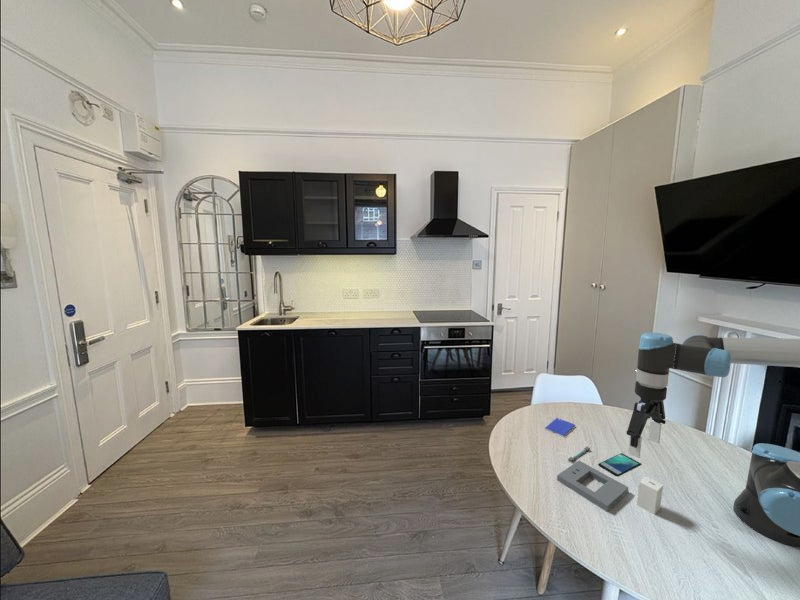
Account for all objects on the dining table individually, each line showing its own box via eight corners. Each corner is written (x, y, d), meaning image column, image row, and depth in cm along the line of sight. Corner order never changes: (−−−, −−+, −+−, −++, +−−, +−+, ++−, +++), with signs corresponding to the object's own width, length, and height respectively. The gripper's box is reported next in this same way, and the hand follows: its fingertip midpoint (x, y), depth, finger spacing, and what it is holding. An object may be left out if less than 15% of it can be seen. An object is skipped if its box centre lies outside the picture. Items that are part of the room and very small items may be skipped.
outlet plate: (627, 492, 104) (628, 486, 103) (607, 511, 96) (607, 505, 96) (578, 465, 117) (579, 459, 117) (557, 480, 110) (557, 474, 109)
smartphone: (597, 463, 117) (621, 452, 124) (596, 465, 118) (621, 454, 124) (616, 476, 111) (641, 463, 117) (616, 478, 111) (641, 465, 117)
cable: (589, 450, 126) (589, 448, 126) (571, 462, 119) (571, 460, 119) (586, 448, 127) (586, 446, 127) (568, 460, 120) (568, 458, 120)
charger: (660, 508, 98) (663, 484, 96) (654, 514, 95) (657, 490, 94) (642, 498, 101) (645, 475, 100) (636, 504, 99) (639, 480, 98)
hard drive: (556, 417, 149) (544, 427, 141) (575, 424, 143) (563, 435, 134) (556, 420, 149) (544, 430, 141) (574, 427, 143) (563, 438, 135)
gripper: (654, 371, 105) (648, 430, 108) (616, 389, 93) (611, 455, 96) (683, 378, 99) (675, 441, 102) (647, 398, 86) (639, 469, 89)
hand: (644, 448), depth 99 cm, fingers open, 13 cm apart
